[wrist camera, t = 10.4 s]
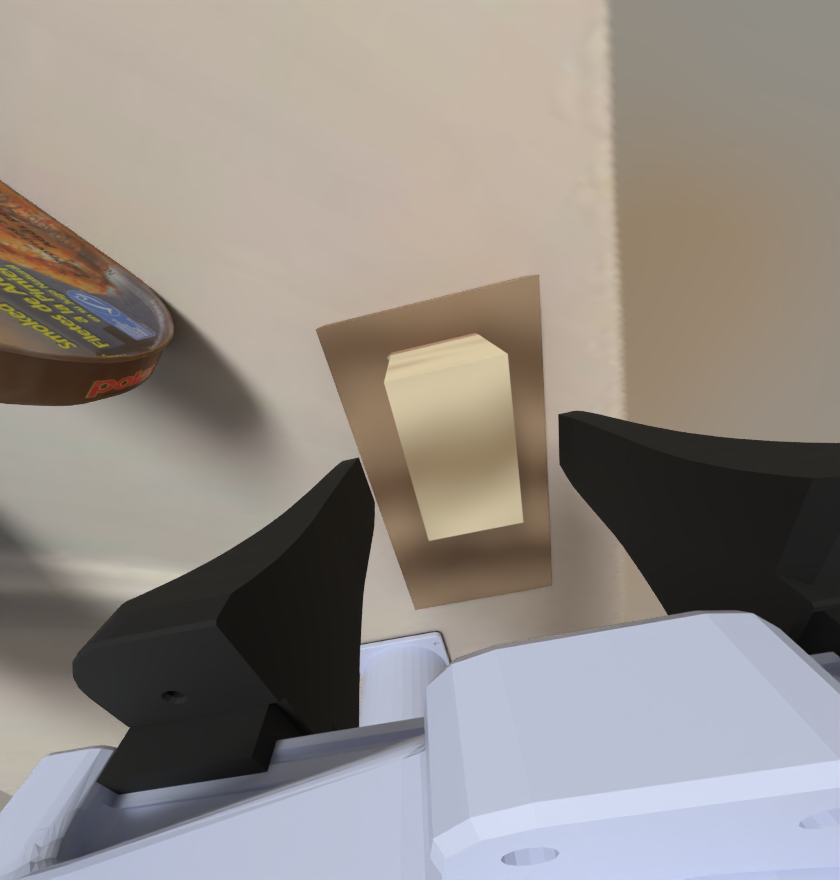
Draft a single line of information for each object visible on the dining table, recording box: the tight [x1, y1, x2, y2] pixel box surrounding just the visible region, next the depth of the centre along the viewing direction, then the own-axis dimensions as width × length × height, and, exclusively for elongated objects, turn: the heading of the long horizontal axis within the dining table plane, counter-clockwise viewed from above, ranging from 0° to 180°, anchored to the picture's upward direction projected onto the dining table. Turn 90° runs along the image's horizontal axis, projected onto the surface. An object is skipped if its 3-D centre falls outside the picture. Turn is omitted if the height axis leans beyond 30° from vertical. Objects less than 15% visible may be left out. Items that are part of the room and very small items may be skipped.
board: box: [316, 275, 552, 610], centre depth 19 cm, size 20×10×2 cm, turn 13°
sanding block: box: [384, 333, 523, 541], centre depth 14 cm, size 7×4×5 cm, turn 13°
